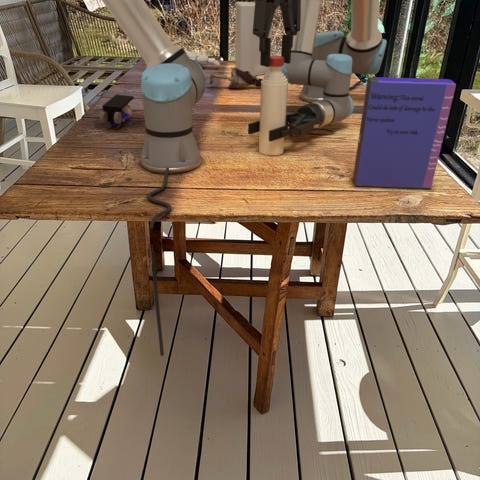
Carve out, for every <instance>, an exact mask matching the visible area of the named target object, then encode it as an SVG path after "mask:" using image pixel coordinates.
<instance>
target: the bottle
mask: <svg viewBox="0 0 480 480" xmlns="http://www.w3.org/2000/svg"><path fill="white" fill-rule="evenodd" d="M261 79H262V81H261V87H260V105H259V121H260V128H259V132H258V153H260V154H262V155H266V156H278V155H282V154H283V153H284V152H285V138H286V137H283V138H280V139H277V140H274V141H269V131H270V130H273V129H276V128H280V127H283V126H285V123H286V114H287V106H288V92H289V83H288V81H287V78H286V76H284V74H283V73H282V71H281V67H272V66H270V70H269V71H268V73H266V74H264V75H263V77H261Z"/></svg>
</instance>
